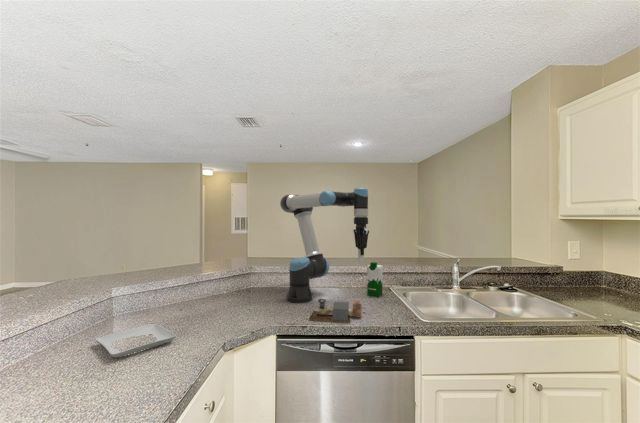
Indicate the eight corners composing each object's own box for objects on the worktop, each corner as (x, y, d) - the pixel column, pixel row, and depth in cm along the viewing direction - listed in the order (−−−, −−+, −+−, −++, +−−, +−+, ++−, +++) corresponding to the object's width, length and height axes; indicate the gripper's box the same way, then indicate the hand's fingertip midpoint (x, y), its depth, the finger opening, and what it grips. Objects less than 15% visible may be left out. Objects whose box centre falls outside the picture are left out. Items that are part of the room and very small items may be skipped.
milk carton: (365, 295, 176) (365, 262, 176) (371, 292, 184) (371, 260, 184) (379, 297, 171) (379, 263, 172) (384, 294, 179) (384, 261, 179)
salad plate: (155, 329, 124) (155, 321, 124) (177, 343, 110) (178, 334, 110) (93, 346, 107) (93, 337, 107) (111, 365, 94) (112, 354, 94)
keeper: (308, 320, 133) (308, 304, 133) (313, 312, 146) (313, 297, 146) (350, 323, 131) (350, 306, 131) (351, 313, 143) (351, 298, 143)
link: (315, 314, 139) (315, 301, 139) (317, 310, 144) (317, 298, 144) (361, 317, 135) (361, 304, 136) (361, 313, 141) (361, 300, 141)
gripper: (349, 216, 159) (349, 259, 159) (360, 216, 147) (360, 263, 146) (361, 216, 162) (361, 259, 161) (373, 216, 150) (373, 262, 149)
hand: (361, 261), depth 154 cm, fingers closed
